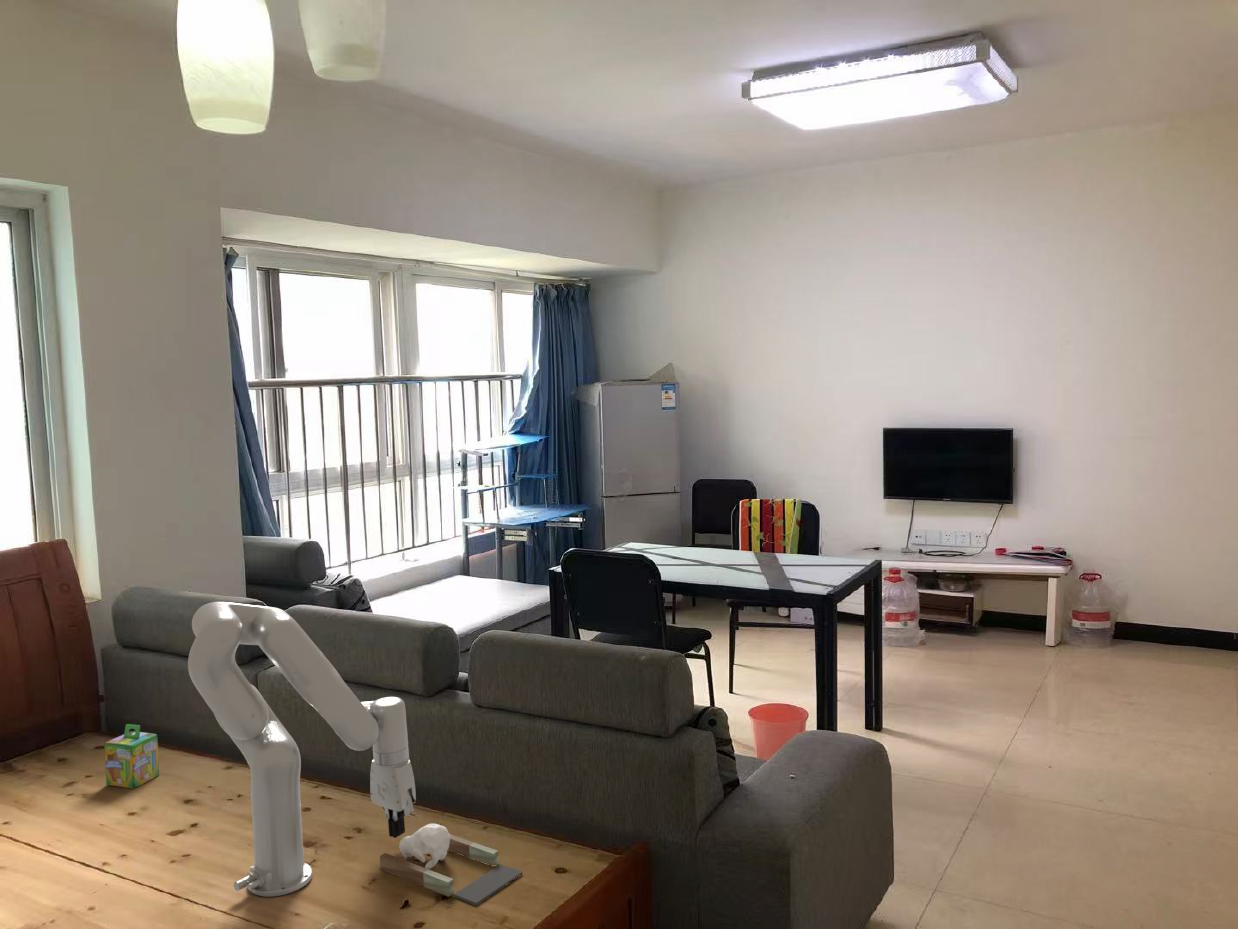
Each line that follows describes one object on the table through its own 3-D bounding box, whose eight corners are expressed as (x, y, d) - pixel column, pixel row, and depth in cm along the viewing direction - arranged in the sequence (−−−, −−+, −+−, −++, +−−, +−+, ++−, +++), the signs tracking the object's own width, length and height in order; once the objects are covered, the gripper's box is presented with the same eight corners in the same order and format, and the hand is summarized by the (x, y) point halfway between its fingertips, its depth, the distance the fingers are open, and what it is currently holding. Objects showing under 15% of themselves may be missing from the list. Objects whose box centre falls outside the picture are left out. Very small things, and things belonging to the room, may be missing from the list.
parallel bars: (448, 896, 190) (448, 882, 190) (380, 869, 201) (379, 856, 201) (498, 864, 202) (498, 851, 202) (431, 840, 214) (431, 827, 213)
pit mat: (476, 906, 187) (476, 903, 187) (454, 897, 190) (453, 894, 190) (522, 874, 198) (522, 871, 198) (500, 866, 201) (500, 864, 201)
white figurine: (433, 833, 199) (388, 827, 204) (438, 873, 199) (393, 866, 204) (451, 820, 204) (407, 815, 210) (456, 859, 205) (412, 853, 210)
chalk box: (105, 786, 247) (101, 730, 246) (133, 772, 256) (129, 718, 254) (134, 790, 244) (130, 733, 243) (161, 775, 253) (157, 721, 252)
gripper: (354, 754, 209) (361, 834, 211) (402, 768, 201) (408, 850, 203) (381, 742, 215) (387, 819, 217) (427, 755, 207) (433, 835, 209)
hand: (397, 834), depth 210 cm, fingers closed
